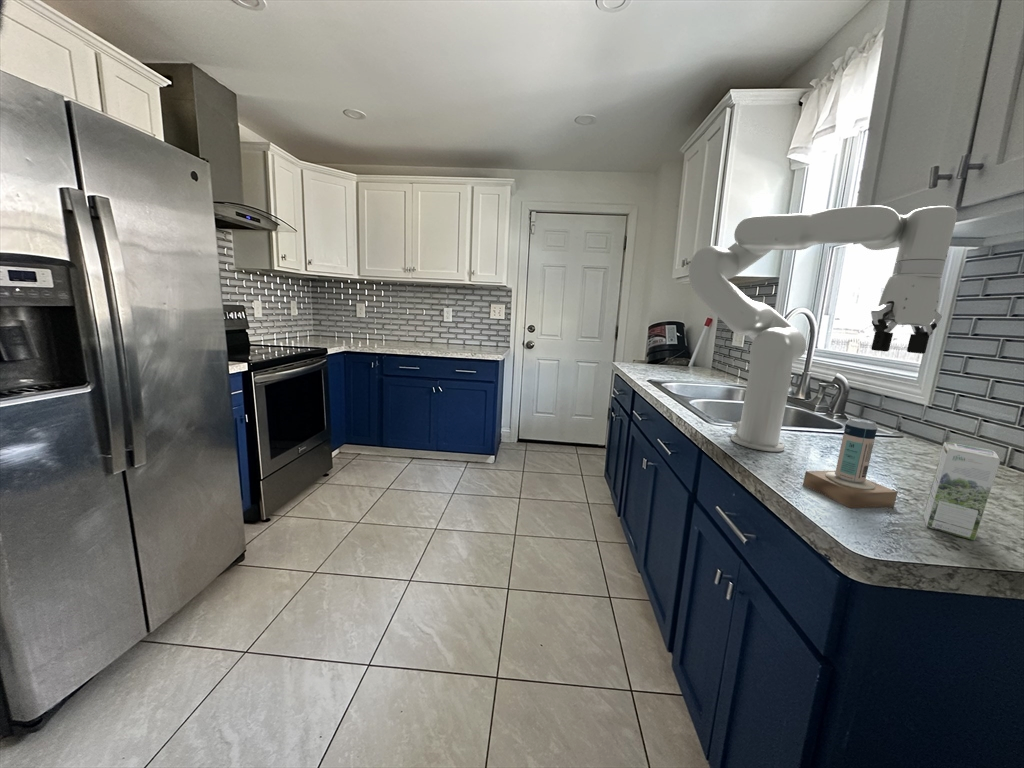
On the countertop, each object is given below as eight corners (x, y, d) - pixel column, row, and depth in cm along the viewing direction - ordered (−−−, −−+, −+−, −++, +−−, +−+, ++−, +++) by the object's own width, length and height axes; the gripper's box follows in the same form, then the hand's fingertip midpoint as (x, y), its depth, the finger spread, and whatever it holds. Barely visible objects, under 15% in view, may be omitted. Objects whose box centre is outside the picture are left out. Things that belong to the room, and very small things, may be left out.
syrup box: (969, 529, 69) (993, 449, 67) (975, 542, 65) (1001, 457, 62) (922, 516, 73) (943, 439, 70) (925, 528, 68) (948, 446, 66)
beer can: (860, 477, 81) (873, 419, 78) (869, 486, 76) (883, 425, 74) (830, 472, 83) (842, 415, 80) (838, 480, 78) (851, 421, 76)
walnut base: (802, 484, 84) (805, 469, 83) (842, 483, 86) (845, 469, 85) (850, 508, 74) (854, 491, 74) (893, 506, 76) (898, 490, 75)
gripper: (928, 275, 90) (909, 351, 93) (865, 268, 87) (848, 348, 90) (971, 273, 83) (949, 355, 86) (904, 265, 79) (884, 352, 83)
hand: (897, 351), depth 88 cm, fingers open, 9 cm apart
